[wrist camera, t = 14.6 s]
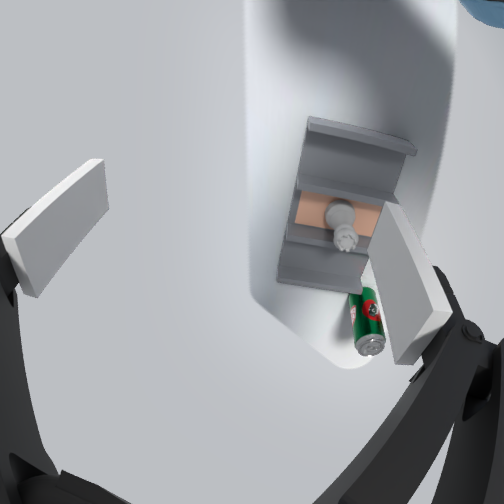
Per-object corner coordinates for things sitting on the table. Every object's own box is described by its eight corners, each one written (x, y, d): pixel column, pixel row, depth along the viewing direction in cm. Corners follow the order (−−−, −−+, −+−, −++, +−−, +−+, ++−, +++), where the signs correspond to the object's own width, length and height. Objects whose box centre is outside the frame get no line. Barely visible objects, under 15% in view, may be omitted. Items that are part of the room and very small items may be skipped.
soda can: (345, 288, 54) (353, 343, 45) (373, 281, 53) (385, 335, 43) (350, 307, 57) (357, 360, 47) (376, 301, 55) (387, 353, 46)
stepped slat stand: (308, 116, 38) (310, 122, 35) (407, 140, 37) (417, 149, 34) (277, 266, 53) (276, 282, 50) (357, 279, 53) (360, 294, 50)
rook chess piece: (341, 192, 43) (349, 222, 36) (360, 212, 44) (371, 244, 38) (317, 211, 45) (321, 243, 38) (337, 230, 46) (344, 264, 40)
